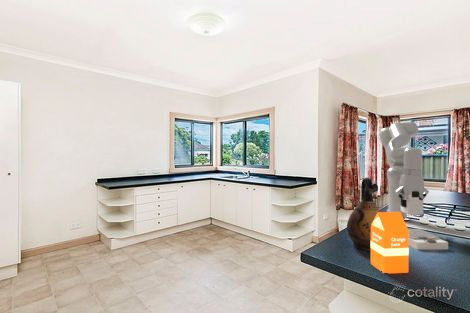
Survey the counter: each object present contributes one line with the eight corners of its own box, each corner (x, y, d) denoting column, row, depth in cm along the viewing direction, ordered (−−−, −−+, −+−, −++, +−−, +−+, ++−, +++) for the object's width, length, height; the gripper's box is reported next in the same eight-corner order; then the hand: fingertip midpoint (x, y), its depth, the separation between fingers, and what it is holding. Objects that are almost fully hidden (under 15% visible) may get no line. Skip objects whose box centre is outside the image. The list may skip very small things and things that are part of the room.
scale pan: (396, 230, 119) (396, 228, 119) (419, 230, 119) (419, 228, 119) (412, 238, 108) (412, 236, 108) (438, 238, 108) (438, 236, 108)
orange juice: (370, 263, 92) (370, 209, 91) (392, 262, 92) (393, 209, 92) (384, 273, 84) (384, 215, 83) (409, 272, 84) (409, 214, 84)
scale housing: (393, 236, 120) (393, 229, 120) (420, 236, 120) (420, 229, 120) (418, 250, 103) (418, 241, 103) (449, 250, 103) (449, 241, 103)
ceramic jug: (393, 255, 98) (394, 180, 98) (352, 252, 101) (352, 180, 101) (378, 240, 115) (378, 176, 114) (342, 238, 118) (342, 175, 117)
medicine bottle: (414, 211, 130) (415, 188, 130) (423, 215, 123) (424, 191, 123) (400, 210, 131) (400, 188, 130) (408, 214, 124) (408, 191, 123)
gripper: (424, 171, 130) (423, 204, 131) (390, 171, 130) (390, 205, 131) (435, 173, 122) (434, 208, 123) (399, 173, 122) (399, 208, 123)
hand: (411, 206), depth 127 cm, fingers closed on medicine bottle, 7 cm apart
